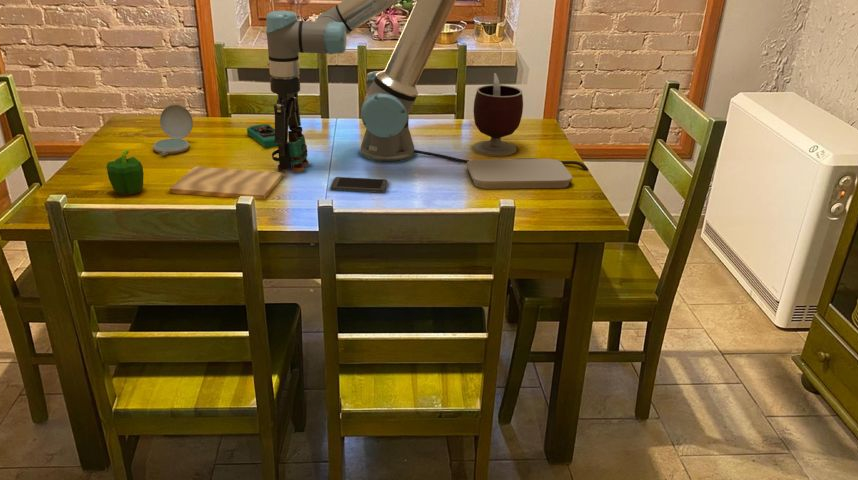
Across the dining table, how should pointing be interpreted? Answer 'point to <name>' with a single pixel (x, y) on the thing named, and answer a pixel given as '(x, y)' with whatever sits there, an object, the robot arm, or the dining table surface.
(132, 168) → the bell pepper
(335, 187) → the cell phone
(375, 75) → the robot arm
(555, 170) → the tablet
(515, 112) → the mate gourd
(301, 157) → the binoculars
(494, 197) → the dining table surface
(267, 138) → the digital multimeter
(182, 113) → the grey compact mirror
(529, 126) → the dining table surface
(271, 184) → the serving board
